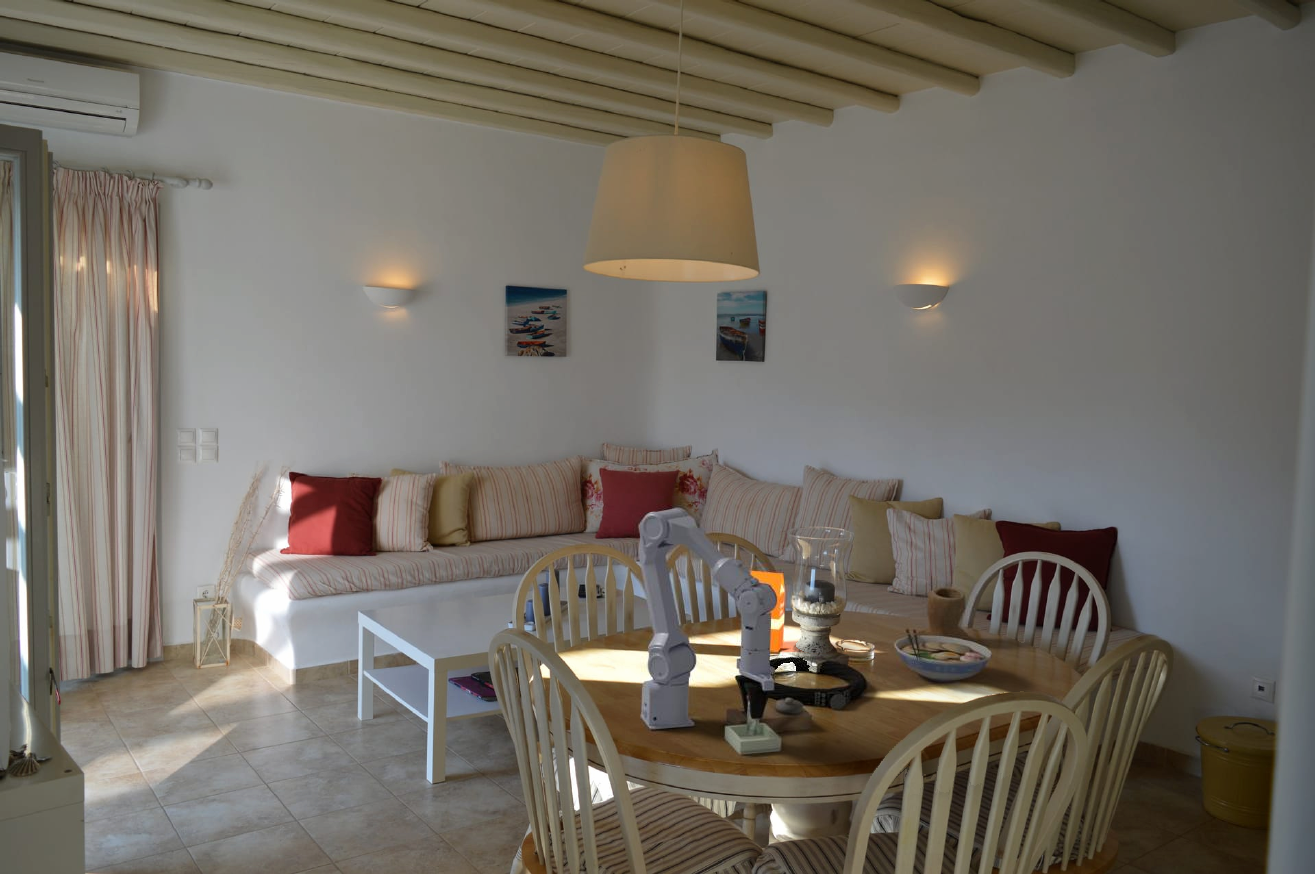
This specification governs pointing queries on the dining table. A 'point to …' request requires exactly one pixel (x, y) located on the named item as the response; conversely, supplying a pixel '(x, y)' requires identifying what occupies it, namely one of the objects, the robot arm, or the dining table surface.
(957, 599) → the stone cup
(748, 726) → the lock pin
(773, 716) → the block
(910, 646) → the ramen bowl
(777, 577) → the orange juice
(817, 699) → the cable lock
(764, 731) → the tray
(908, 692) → the dining table surface
